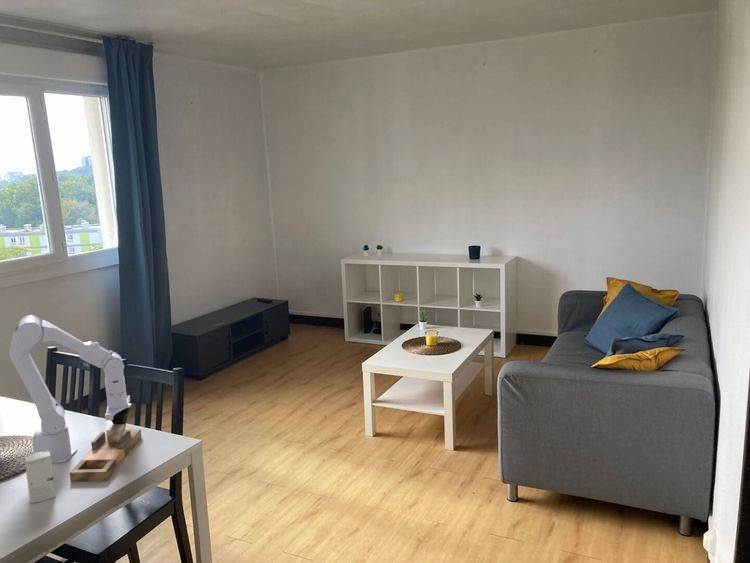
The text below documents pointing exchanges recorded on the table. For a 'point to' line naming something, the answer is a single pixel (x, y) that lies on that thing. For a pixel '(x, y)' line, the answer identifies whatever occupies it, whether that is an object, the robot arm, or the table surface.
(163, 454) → the table surface
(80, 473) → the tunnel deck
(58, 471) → the table surface
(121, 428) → the maple block
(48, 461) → the skincare box
